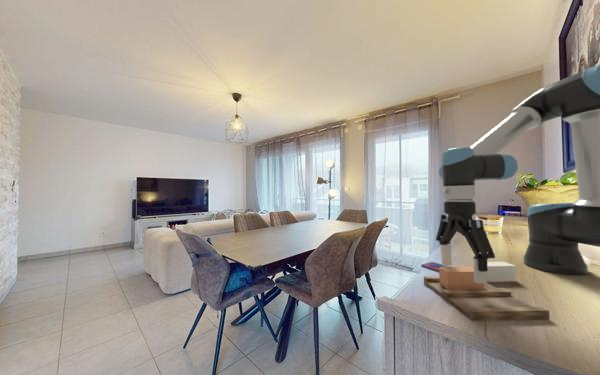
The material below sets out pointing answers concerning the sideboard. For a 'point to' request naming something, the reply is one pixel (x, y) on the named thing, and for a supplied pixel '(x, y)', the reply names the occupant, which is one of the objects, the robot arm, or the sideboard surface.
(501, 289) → the comb board
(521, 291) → the sideboard surface
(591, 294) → the sideboard surface
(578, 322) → the sideboard surface
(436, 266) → the smartphone
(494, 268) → the cream stub
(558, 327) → the sideboard surface
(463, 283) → the terracotta stub
